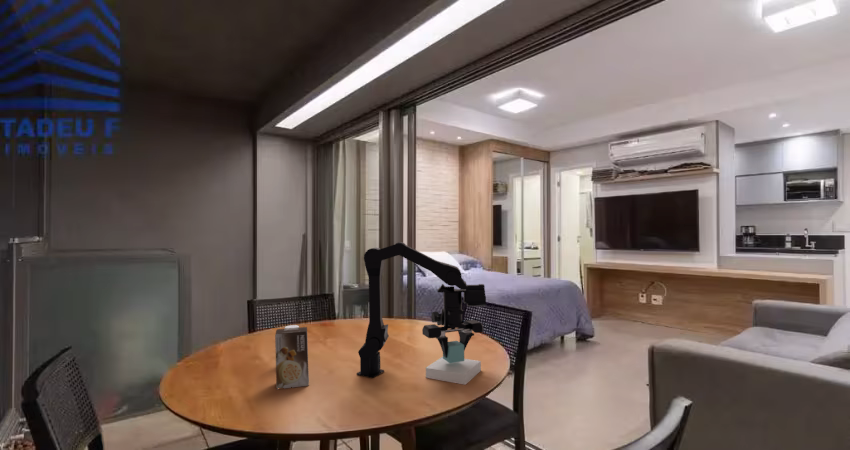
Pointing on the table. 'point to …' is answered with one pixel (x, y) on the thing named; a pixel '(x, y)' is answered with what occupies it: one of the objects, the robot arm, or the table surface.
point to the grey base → (453, 370)
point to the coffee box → (291, 357)
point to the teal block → (455, 352)
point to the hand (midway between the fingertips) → (453, 356)
